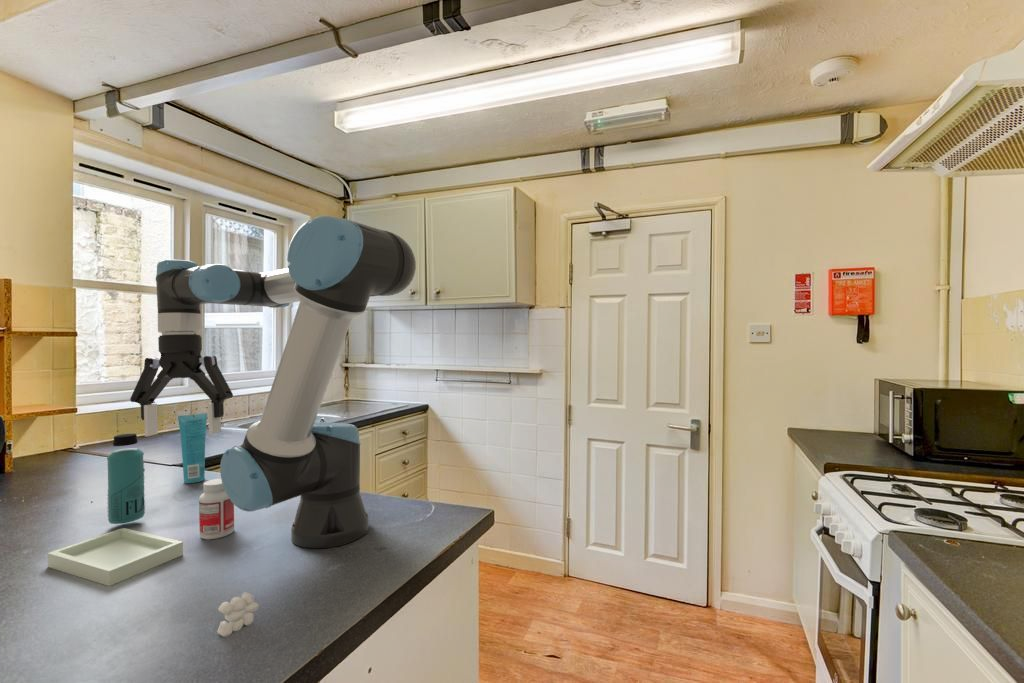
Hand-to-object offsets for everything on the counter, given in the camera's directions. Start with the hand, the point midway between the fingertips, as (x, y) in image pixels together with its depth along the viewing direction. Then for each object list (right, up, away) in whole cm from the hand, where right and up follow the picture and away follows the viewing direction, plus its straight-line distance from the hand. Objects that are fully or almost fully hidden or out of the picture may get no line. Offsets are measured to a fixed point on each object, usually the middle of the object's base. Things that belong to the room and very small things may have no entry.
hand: (183, 434), depth 100 cm
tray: (-3, -21, -13) cm, 25 cm away
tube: (-22, -21, +35) cm, 46 cm away
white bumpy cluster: (+31, -21, -33) cm, 50 cm away
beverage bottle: (-15, -21, +3) cm, 26 cm away
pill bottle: (+8, -21, -1) cm, 22 cm away
